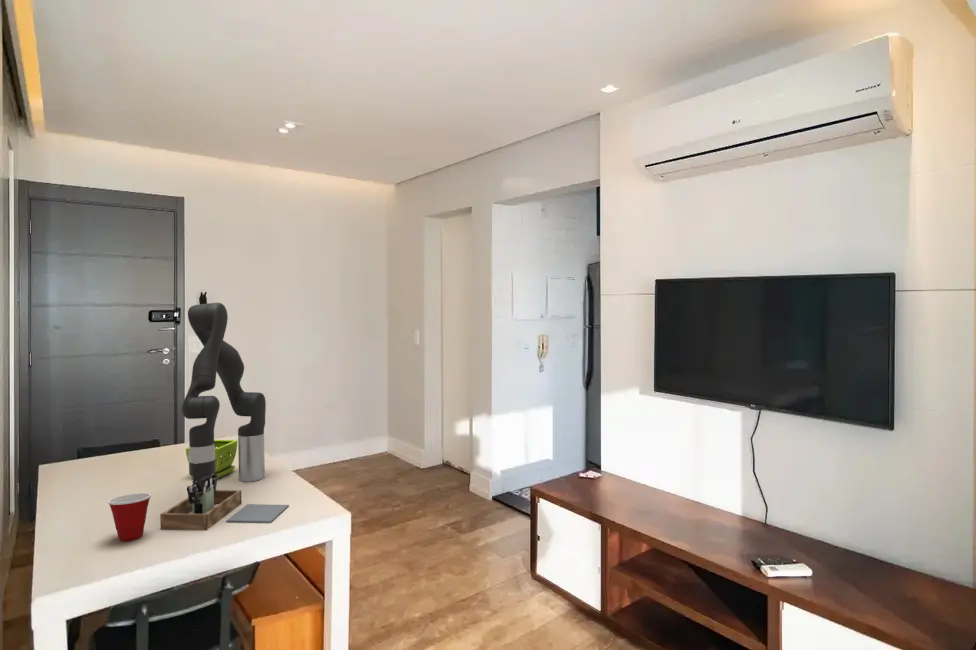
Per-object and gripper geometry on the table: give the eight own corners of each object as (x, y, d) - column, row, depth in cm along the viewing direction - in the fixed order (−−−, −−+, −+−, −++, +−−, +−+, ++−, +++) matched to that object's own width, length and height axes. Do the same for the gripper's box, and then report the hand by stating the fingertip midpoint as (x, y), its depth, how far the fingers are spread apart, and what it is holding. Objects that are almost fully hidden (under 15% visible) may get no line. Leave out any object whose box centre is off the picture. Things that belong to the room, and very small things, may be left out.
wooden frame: (200, 503, 192) (200, 489, 191) (241, 503, 191) (241, 490, 191) (160, 529, 170) (160, 514, 169) (206, 530, 169) (206, 515, 169)
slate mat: (247, 505, 189) (247, 504, 189) (288, 506, 188) (288, 504, 188) (226, 522, 175) (226, 520, 175) (270, 523, 174) (270, 521, 174)
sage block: (200, 513, 183) (199, 488, 182) (214, 513, 183) (213, 488, 182) (192, 518, 178) (191, 493, 178) (206, 518, 178) (206, 493, 178)
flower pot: (239, 470, 228) (238, 439, 228) (219, 481, 214) (219, 448, 214) (206, 469, 230) (205, 438, 229) (184, 480, 216) (184, 447, 215)
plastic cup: (152, 527, 171) (151, 487, 171) (152, 540, 162) (151, 498, 161) (109, 534, 166) (108, 494, 165) (106, 548, 156) (105, 505, 156)
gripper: (202, 452, 187) (204, 503, 188) (177, 465, 173) (178, 520, 173) (225, 452, 187) (226, 503, 187) (201, 465, 172) (202, 520, 173)
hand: (203, 511), depth 180 cm, fingers open, 5 cm apart
